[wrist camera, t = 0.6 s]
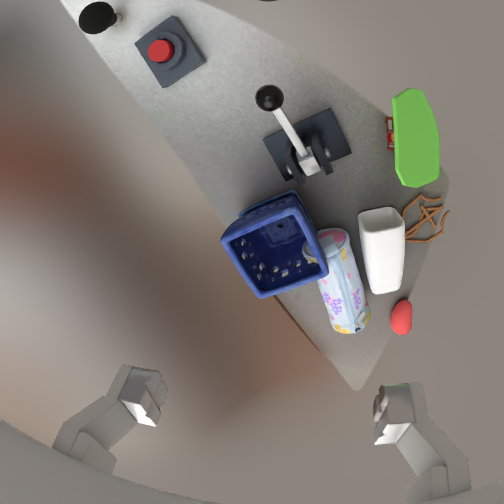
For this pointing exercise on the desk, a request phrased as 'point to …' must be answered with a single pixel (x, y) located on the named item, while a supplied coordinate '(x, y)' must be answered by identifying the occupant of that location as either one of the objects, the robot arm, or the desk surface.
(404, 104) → the green stand with toy
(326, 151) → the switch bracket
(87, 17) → the light bulb
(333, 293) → the pencil case
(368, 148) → the desk surface
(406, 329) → the stress ball
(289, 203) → the flower pot
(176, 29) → the control box
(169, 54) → the button
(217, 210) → the desk surface
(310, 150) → the switch lever
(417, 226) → the emblem
